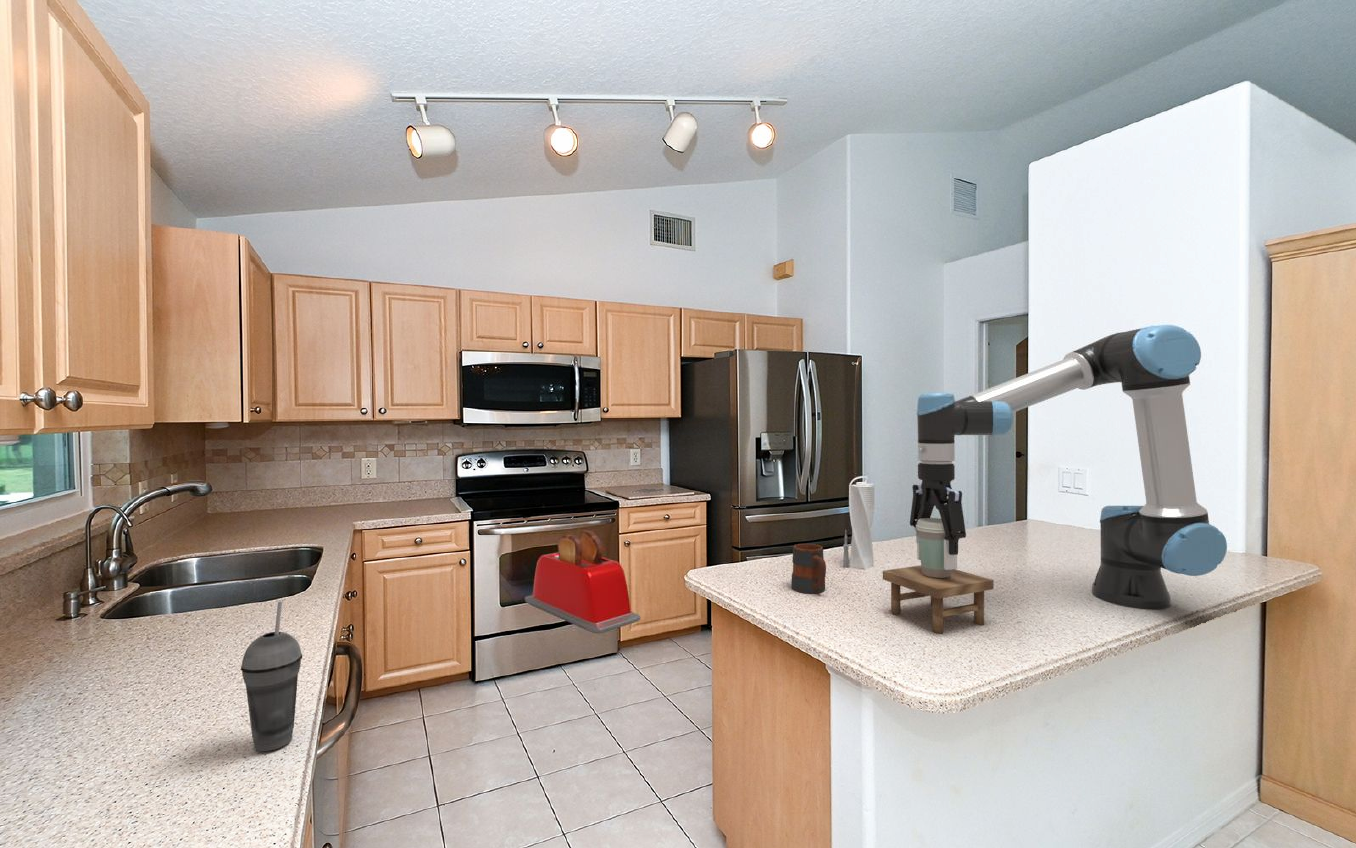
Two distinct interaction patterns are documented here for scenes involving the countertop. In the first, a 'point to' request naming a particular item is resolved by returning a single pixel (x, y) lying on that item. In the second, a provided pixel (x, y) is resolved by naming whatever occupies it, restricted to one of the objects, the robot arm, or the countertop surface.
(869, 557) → the skyscraper
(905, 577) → the stool
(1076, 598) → the countertop surface
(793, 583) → the mug
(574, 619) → the toaster
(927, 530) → the coffee cup
